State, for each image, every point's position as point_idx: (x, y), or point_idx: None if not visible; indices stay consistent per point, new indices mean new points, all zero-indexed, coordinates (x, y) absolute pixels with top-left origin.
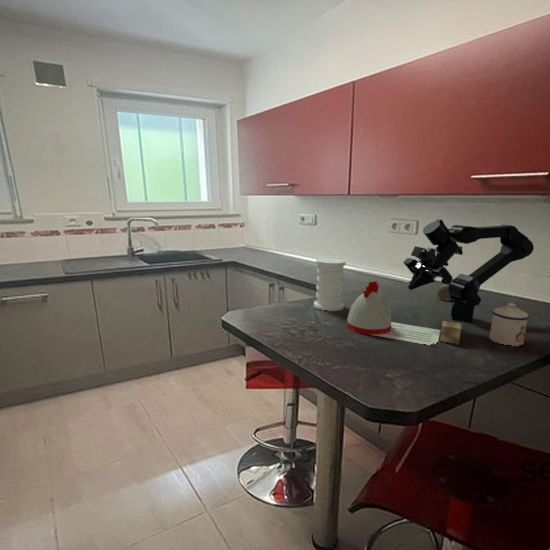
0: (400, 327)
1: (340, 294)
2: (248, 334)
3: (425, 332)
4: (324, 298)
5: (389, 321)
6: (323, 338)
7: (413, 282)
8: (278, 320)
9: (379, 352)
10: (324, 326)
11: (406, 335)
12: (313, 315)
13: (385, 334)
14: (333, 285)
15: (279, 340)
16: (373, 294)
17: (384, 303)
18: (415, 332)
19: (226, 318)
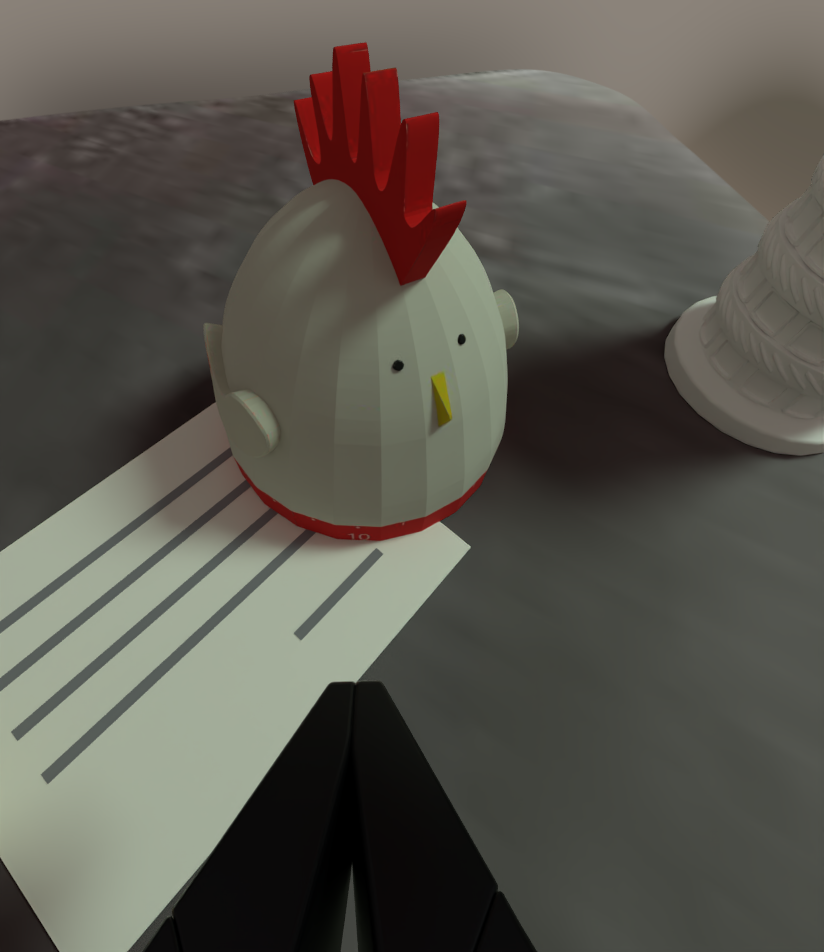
0: (294, 607)
1: (803, 345)
2: None
3: (119, 754)
4: (731, 273)
5: (240, 450)
6: None
7: (290, 798)
8: (522, 159)
9: (46, 313)
10: None
11: (144, 555)
12: (585, 267)
13: (220, 442)
14: (816, 216)
15: None
16: (309, 200)
17: (261, 334)
18: (161, 661)
19: (553, 73)
